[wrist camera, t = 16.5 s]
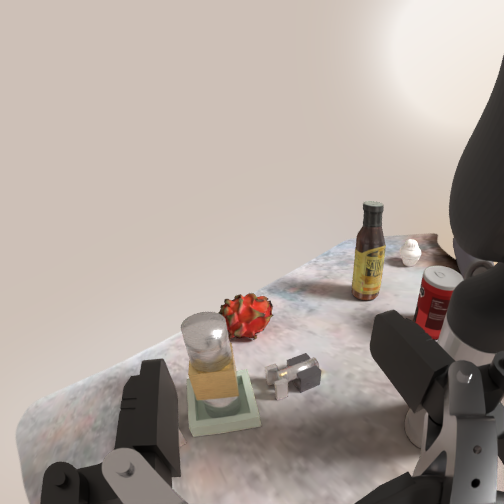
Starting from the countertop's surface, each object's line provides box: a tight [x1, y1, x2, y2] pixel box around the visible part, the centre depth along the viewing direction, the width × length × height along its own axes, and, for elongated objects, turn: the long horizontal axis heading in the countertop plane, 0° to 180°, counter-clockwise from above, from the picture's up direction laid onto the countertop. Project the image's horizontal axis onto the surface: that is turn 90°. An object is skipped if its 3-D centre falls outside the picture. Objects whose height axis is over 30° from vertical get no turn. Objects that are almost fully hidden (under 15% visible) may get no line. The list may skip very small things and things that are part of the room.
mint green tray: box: [187, 369, 261, 437], centre depth 36 cm, size 9×9×2 cm
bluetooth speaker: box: [453, 238, 494, 280], centre depth 57 cm, size 23×9×10 cm, turn 151°
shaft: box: [265, 353, 321, 400], centre depth 39 cm, size 7×4×3 cm, turn 111°
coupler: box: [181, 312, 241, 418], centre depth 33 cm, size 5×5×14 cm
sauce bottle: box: [352, 201, 386, 300], centre depth 55 cm, size 6×6×20 cm
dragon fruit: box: [219, 293, 273, 340], centre depth 51 cm, size 8×8×12 cm
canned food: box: [413, 266, 463, 339], centre depth 43 cm, size 8×8×11 cm
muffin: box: [400, 239, 421, 267], centre depth 67 cm, size 6×6×7 cm
